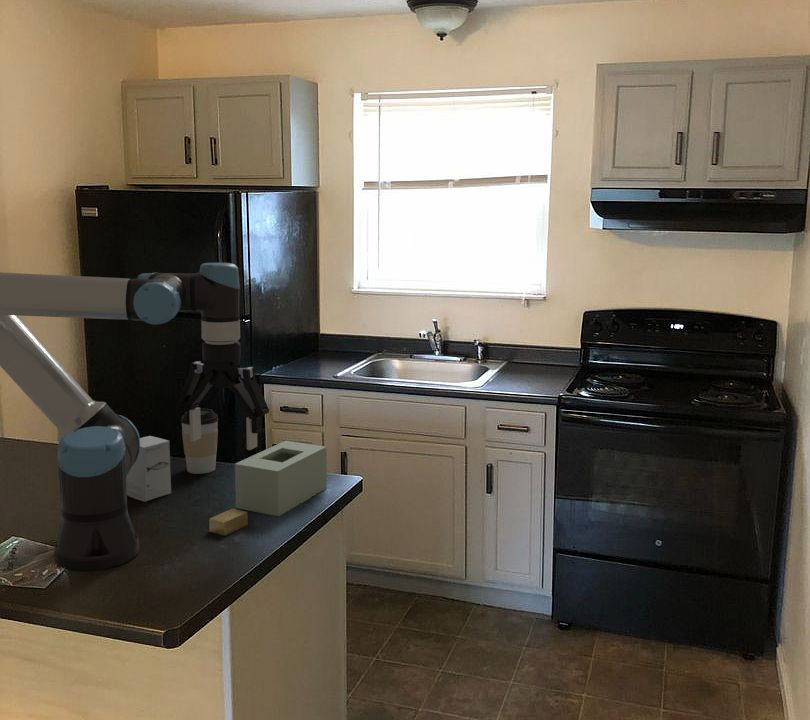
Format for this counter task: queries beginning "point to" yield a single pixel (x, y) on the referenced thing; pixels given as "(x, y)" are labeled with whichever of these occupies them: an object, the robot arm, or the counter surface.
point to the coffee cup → (201, 443)
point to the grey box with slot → (280, 477)
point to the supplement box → (150, 470)
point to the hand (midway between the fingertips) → (223, 444)
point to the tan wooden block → (228, 521)
